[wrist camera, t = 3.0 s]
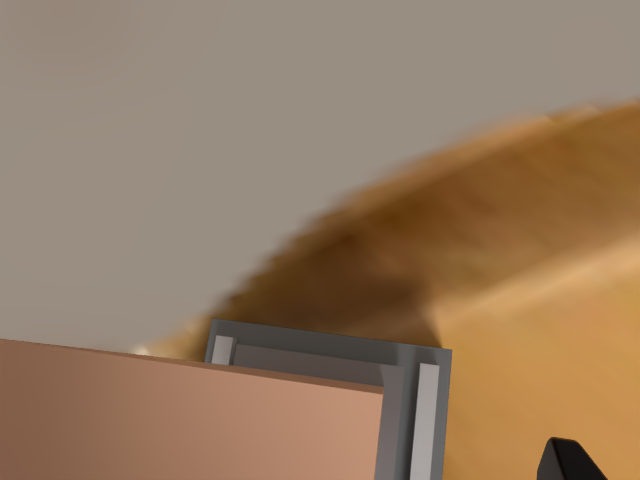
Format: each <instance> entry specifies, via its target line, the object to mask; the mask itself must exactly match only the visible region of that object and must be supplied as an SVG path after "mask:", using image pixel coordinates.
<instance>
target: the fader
mask: <svg viewBox="0 0 640 480" xmlns="http://www.w3.org/2000/svg"><path fill="white" fill-rule="evenodd" d="M404 369H405V367H400V366H392V365H385V364H378V363H371V362H363V361H356V360H349V359H342V358H334V357H327V356H320V355H313V354H305V353H298V352H291V351H284V350H276V349H269V348H262V347H255V346H247V345H240V344H236V350H235V356H234V362H233V366H231V365H222V364H214V363H205V362H197V361H188V360H179V359H171V358H162V357H154V356H145V355H136V354H128V353H119V352H110V351H102V350H93V349H85V348H76V347H67V346H59V345H50V344H41V343H33V342H24V341H15V340H7V339H0V480H394V471H395V461H396V451H397V440H398V430H399V420H400V410H401V400H402V390H403V380H404Z"/></svg>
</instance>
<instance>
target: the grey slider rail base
mask: <svg viewBox="0 0 640 480" xmlns="http://www.w3.org/2000/svg"><path fill="white" fill-rule="evenodd" d="M236 344H240V345H247V346H255V347H262V348H269V349H276V350H284V351H291V352H298V353H305V354H313V355H320V356H327V357H334V358H342V359H349V360H356V361H363V362H371V363H378V364H385V365H392V366H400V367H405V369H404V380H403V390H402V400H401V410H400V420H399V430H398V440H397V451H396V461H395V471H394V480H442V474H443V462H444V449H445V436H446V424H447V411H448V398H449V385H450V373H451V360H452V350H451V349H443V348H436V347H428V346H420V345H413V344H405V343H398V342H390V341H382V340H375V339H367V338H359V337H352V336H344V335H337V334H329V333H321V332H314V331H306V330H299V329H291V328H283V327H276V326H268V325H261V324H253V323H245V322H238V321H230V320H223V319H215V318H212V323H211V328H210V333H209V339H208V344H207V350H206V355H205V360H204V362H205V363H214V364H222V365H231V366H233V362H234V356H235V350H236Z"/></svg>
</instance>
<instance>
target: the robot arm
mask: <svg viewBox="0 0 640 480" xmlns="http://www.w3.org/2000/svg"><path fill="white" fill-rule="evenodd" d="M537 480H608V479H607V478H606V477H605V475H604V474H603V473H602V472H601V470H600V469H599V468H598V466H597V465H596V464H595V463H594V461H593V460H592V459H591V458H590V456H589V455H588V454H587V452H586V451H585V450H584V449H583V447H582V446H581V445H580V444H579V443H578V442H577V441H575V440H571V439H564V438H558V437H551V438H550V439H549V440H548V441H547V444H546V447H545V449H544V452H543V455H542V458H541V461H540V464H539V467H538V471H537Z"/></svg>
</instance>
